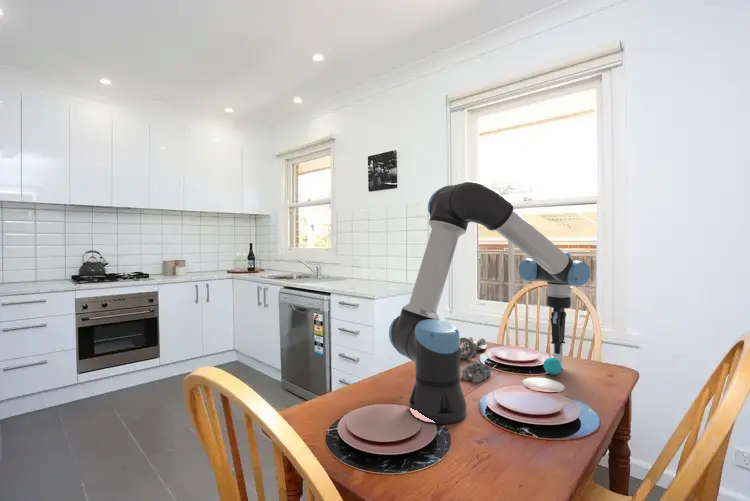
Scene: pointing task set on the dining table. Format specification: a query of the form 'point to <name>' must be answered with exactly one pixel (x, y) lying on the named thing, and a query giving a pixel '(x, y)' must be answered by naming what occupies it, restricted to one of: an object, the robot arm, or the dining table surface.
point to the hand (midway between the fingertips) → (558, 361)
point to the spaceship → (471, 346)
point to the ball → (552, 366)
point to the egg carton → (480, 371)
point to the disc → (544, 384)
